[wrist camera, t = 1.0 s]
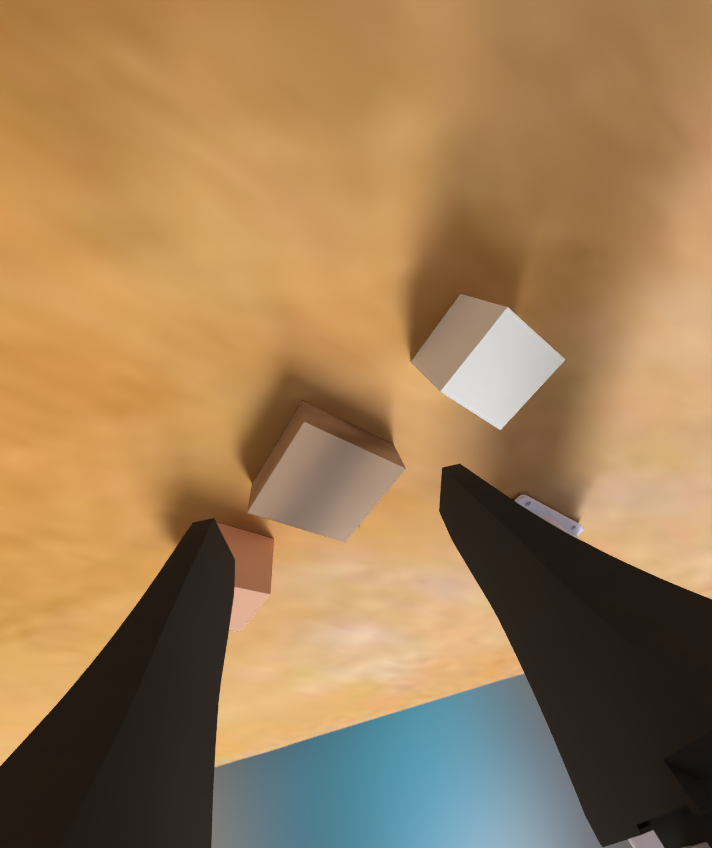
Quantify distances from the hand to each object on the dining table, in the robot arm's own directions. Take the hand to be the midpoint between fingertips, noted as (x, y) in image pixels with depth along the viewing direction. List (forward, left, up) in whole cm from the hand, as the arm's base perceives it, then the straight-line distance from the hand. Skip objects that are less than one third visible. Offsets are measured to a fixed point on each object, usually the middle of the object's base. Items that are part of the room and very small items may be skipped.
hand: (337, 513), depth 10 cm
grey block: (-6, -7, -10) cm, 13 cm away
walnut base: (-3, +4, -10) cm, 12 cm away
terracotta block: (-1, +14, -10) cm, 18 cm away
